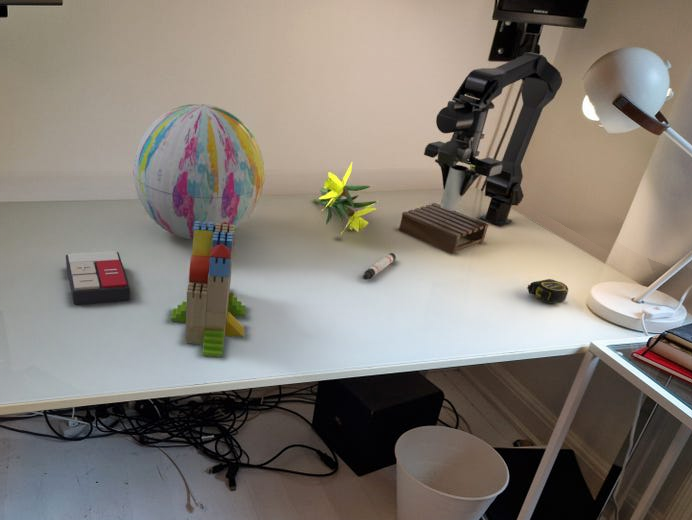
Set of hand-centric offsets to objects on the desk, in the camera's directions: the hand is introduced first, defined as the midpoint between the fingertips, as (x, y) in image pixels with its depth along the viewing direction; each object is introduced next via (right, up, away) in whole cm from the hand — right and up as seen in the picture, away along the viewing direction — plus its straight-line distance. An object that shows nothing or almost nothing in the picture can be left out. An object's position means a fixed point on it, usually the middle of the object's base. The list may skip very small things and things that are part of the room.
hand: (453, 192), depth 162 cm
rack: (-1, -10, +7) cm, 12 cm away
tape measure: (+14, -28, -18) cm, 36 cm away
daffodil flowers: (-29, -6, +9) cm, 31 cm away
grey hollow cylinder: (0, -3, +2) cm, 4 cm away
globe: (-64, -12, -5) cm, 65 cm away
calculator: (-83, -27, -29) cm, 92 cm away
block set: (-59, -33, -36) cm, 77 cm away
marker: (-22, -22, -13) cm, 34 cm away
